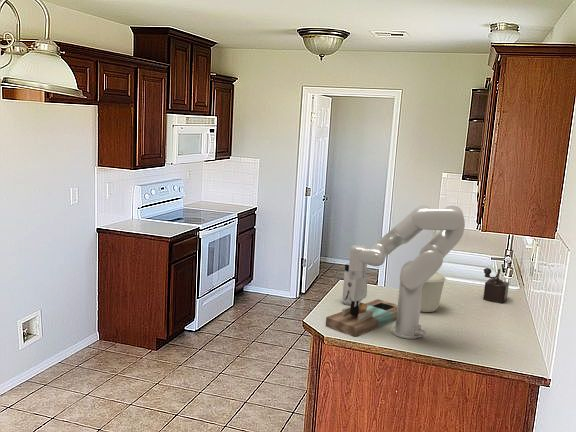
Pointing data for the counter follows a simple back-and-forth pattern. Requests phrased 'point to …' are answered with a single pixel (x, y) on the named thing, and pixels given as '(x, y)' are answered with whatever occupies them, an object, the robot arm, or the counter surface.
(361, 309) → the block
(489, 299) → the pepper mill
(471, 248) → the counter surface
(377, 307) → the board
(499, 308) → the counter surface
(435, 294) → the canister
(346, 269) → the travel mug
